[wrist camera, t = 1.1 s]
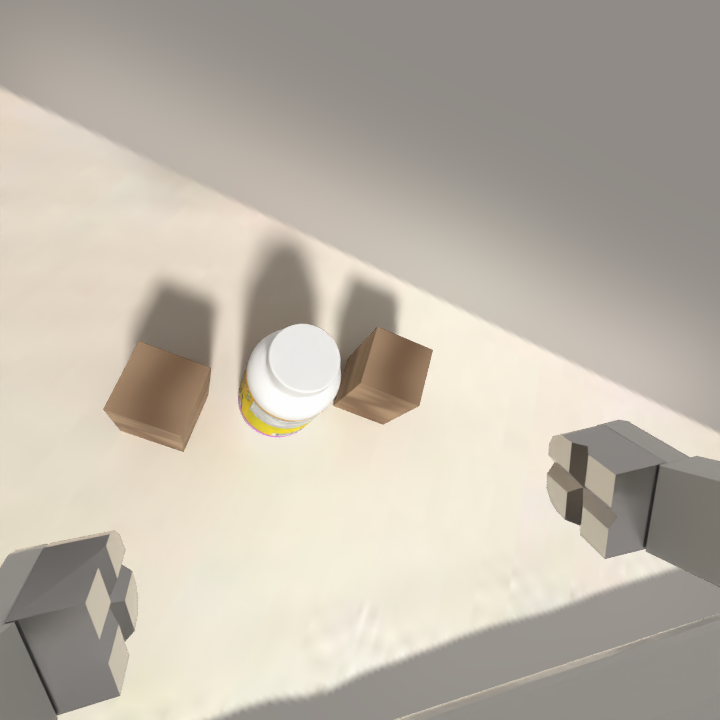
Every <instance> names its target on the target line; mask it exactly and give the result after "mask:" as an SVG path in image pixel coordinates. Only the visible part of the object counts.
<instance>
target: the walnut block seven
mask: <svg viewBox="0 0 720 720" xmlns="http://www.w3.org/2000/svg"><path fill="white" fill-rule="evenodd" d="M432 351H433V350H432V349H429V348H427V347H425V346H422V345H420V344H417V343H415V342H413V341H410V340H408V339H405V338H403V337H401V336H398V335H396V334H394V333H391V332H389V331H386V330H384V329H382V328H379V327H377V328H376V329H375V330H374V331H373V332H372V333H371V334H370V336H369V337H368V338H367V339H366V340H365V341H364V342H363V343H362V344H361V345H360V346H359V347H358V348H357V349H356V350H355V351H354V353H353V354H352V355H351V356H350V357H349V358H348V362H347V365H346V368H345V371H344V374H343V377H342V380H341V383H340V387H339V390H338V393H337V396H336V399H335V402H334V405H333V406H335V407H338V408H340V409H343V410H346V411H348V412H351V413H354V414H356V415H359V416H362V417H364V418H367V419H370V420H372V421H375V422H378V423H380V424H385V423H387V422H389V421H391V420H393V419H395V418H397V417H399V416H401V415H403V414H404V413H406V412H408V411H410V410H412V409H414V408H416V407H418V406H419V405H420V401H421V396H422V392H423V388H424V384H425V380H426V376H427V372H428V368H429V364H430V360H431V355H432Z"/></svg>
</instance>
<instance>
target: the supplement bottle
mask: <svg viewBox="0 0 720 720" xmlns="http://www.w3.org/2000/svg"><path fill="white" fill-rule="evenodd" d="M340 382H341V368H340V352H339V349H338V346H337V344H336V343H335V341H334V340H333V338H332V337H331V336H330V335H329V334H328V333H327V332H326V331H324V330H323V329H321V328H319V327H317V326H314V325H310V324H294V325H291V326H288V327H286V328H284V329H282V330H278V331H275V332H273V333H271V334H269V335H267V336H266V337H265V338H263V339H262V340H261V341H260V342H259V343H258V344H257V346H256V347H255V348H254V350H253V352H252V354H251V356H250V358H249V361H248V365H247V368H246V371H245V374H244V377H243V380H242V383H241V386H240V390H239V396H238V403H239V409H240V412H241V415H242V417H243V419H244V420H245V422H246V423H247V424H248V425H249V426H250V427H251V428H252V429H253V430H254V431H256V432H258V433H260V434H262V435H264V436H268V437H274V438H281V437H286V436H290V435H292V434H295V433H296V432H298V431H300V430H301V429H302V428H304V427H305V426H306V425H307V424H308V423H309V422H311V421H312V420H313V419H314V418H315V417H316V416H317V415H319V414H320V413H321V412H322V411H323V410H325V409H326V408H327V407H328V406H329V405H330V403H331V402H332V401H333V400H334V398H335V396H336V394H337V392H338V390H339V386H340Z"/></svg>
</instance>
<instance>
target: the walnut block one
mask: <svg viewBox="0 0 720 720" xmlns="http://www.w3.org/2000/svg"><path fill="white" fill-rule="evenodd" d="M210 372H211V368H210V367H207V366H204V365H202V364H199V363H196V362H194V361H191V360H188V359H186V358H183V357H180V356H178V355H175V354H172V353H170V352H167V351H164V350H162V349H159V348H156V347H154V346H151V345H148V344H146V343H143V342H140V341H139V342H138V344H137V346H136V347H135V349H134V351H133V353H132V355H131V357H130V359H129V361H128V363H127V365H126V367H125V369H124V370H123V372H122V374H121V376H120V378H119V380H118V382H117V384H116V386H115V388H114V390H113V392H112V393H111V395H110V397H109V399H108V401H107V403H106V405H105V407H104V409H103V410H104V411H105V412H106V413H107V415H108V416H109V417H110V418H111V419H112V421H113V422H114V423H115V424H116V426H117V427H118V428H119V429H120V430H121V431H123V432H126V433H129V434H132V435H135V436H138V437H141V438H144V439H147V440H150V441H153V442H156V443H159V444H162V445H165V446H168V447H171V448H174V449H177V450H180V451H183V452H184V449H185V447H186V445H187V443H188V440H189V438H190V436H191V433H192V431H193V429H194V426H195V424H196V422H197V420H198V417H199V415H200V413H201V410H202V408H203V406H204V403H205V401H206V399H207V397H208V391H209V382H210Z"/></svg>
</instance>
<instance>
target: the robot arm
mask: <svg viewBox="0 0 720 720" xmlns="http://www.w3.org/2000/svg"><path fill="white" fill-rule="evenodd" d="M548 455H549V456H550V457H551V459H552V460H553V461H554V464H553V466H552V467H551V469H550V470H549V472H548V473H547V491H548V494H549V497H550V501H551V503H552V504H553V506H554V508H555V509H556V511H557V512H558V513H559V514H560V515H561V516H562V517H563V518H564V519H565V520H567V521H570V522H572V523H575V524H577V525H580V535H581V536H582V537H583V538H584V539H585V540H586V541H587V542H588V543H589V544H590V545H591V546H592V547H593V548H594V549H595V550H596V551H597V552H598V553H599V554H600V555H601V556H602V557H603V558H604V559H607V558H611V557H615V556H619V555H623V554H627V553H631V552H635V551H639V550H643V549H646V552H648V553H650V554H652V555H654V556H656V557H658V558H660V559H663V560H665V561H667V562H669V563H671V564H673V565H675V566H677V567H679V568H681V569H683V570H685V571H687V572H689V573H691V574H693V575H695V576H697V577H700V578H702V579H704V580H706V581H708V582H710V583H712V584H714V585H716V586H718V587H720V461H716V460H712V459H708V458H703V457H699V456H695V457H691V458H690V457H688V456H687V455H685V454H683V453H681V452H680V451H678V450H676V449H675V448H673V447H671V446H669V445H668V444H666V443H664V442H663V441H661V440H659V439H657V438H656V437H654V436H652V435H650V434H649V433H647V432H645V431H644V430H642V429H640V428H638V427H637V426H635V425H633V424H632V423H630V422H628V421H623V420H616V421H612V422H608V423H604V424H600V425H597V426H595V427H590V428H586V429H582V430H577V431H573V432H569V433H564V434H560V435H556V436H553V437H552V439H551V441H550V443H549V454H548ZM124 554H125V547H124V544H123V542H122V539H121V536H120V534H119V533H117V532H116V531H115V530H114V531H109V532H104V533H99V534H94V535H89V536H84V537H79V538H74V539H68V540H63V541H58V542H53V543H50V544H43V545H38V546H34V547H29V548H25V549H20V550H16V551H14V552H13V553H11V554H9V555H8V556H7V557H6V559H5V561H4V562H3V564H2V565H1V567H0V720H57V719H58V718H57V715H60V714H63V713H66V712H70V711H73V710H76V709H79V708H82V707H86V706H89V705H92V704H95V703H98V702H102V701H105V700H108V699H111V698H115V697H118V696H120V694H121V690H122V686H123V681H124V677H125V672H126V668H127V663H128V659H129V653H128V650H127V647H126V644H125V641H126V640H127V639H128V638H129V636H130V635H131V634H132V633H133V632H134V631H135V626H136V621H137V616H138V593H137V587H136V582H135V578H134V575H133V572H132V571H131V570H130V569H128V568H127V567H125V566H123V565H122V561H123V557H124ZM395 720H720V613H719V614H716V615H713V616H710V617H707V618H703V619H701V620H697V621H694V622H691V623H688V624H685V625H682V626H679V627H676V628H673V629H670V630H667V631H664V632H661V633H658V634H655V635H651V636H649V637H645V638H643V639H639V640H636V641H633V642H630V643H627V644H624V645H621V646H618V647H615V648H612V649H609V650H606V651H603V652H600V653H597V654H594V655H590V656H587V657H584V658H582V659H579V660H575V661H572V662H569V663H566V664H563V665H560V666H557V667H554V668H551V669H548V670H545V671H541V672H538V673H536V674H532V675H529V676H527V677H523V678H520V679H517V680H514V681H511V682H508V683H505V684H502V685H499V686H496V687H493V688H490V689H486V690H484V691H480V692H477V693H474V694H471V695H468V696H465V697H462V698H459V699H456V700H453V701H450V702H447V703H444V704H441V705H437V706H434V707H431V708H429V709H426V710H423V711H419V712H416V713H413V714H410V715H407V716H404V717H401V718H398V719H395Z"/></svg>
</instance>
